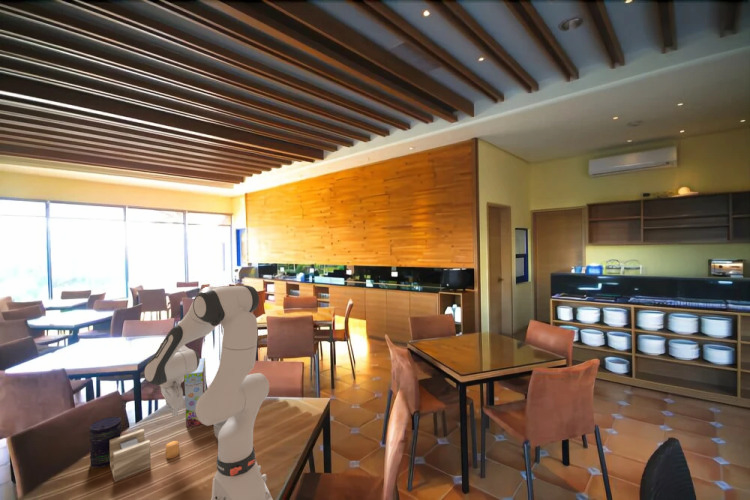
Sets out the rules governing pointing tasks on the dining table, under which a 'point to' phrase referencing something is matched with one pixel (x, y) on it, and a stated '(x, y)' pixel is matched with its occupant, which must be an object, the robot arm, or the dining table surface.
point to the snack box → (194, 392)
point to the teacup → (218, 428)
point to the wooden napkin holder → (129, 454)
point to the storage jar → (103, 440)
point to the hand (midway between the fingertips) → (172, 411)
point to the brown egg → (172, 449)
